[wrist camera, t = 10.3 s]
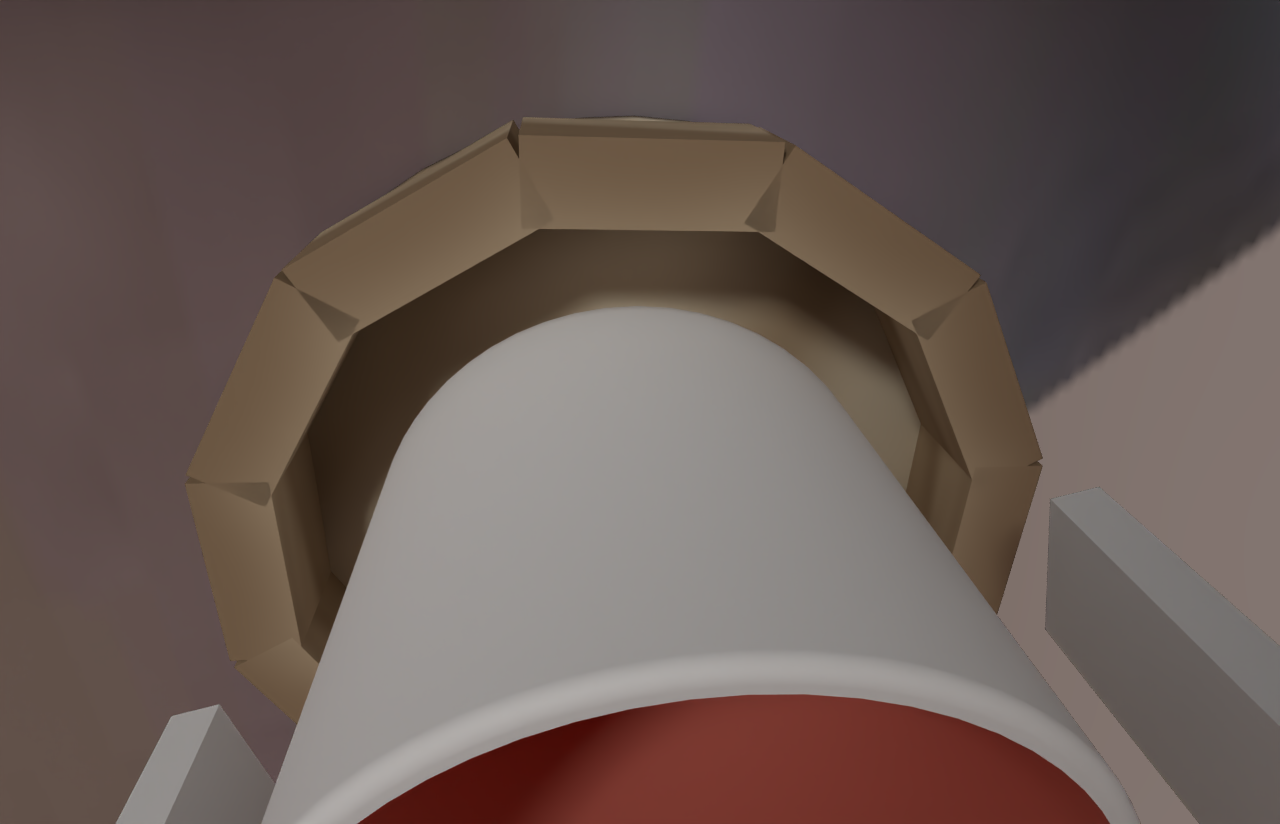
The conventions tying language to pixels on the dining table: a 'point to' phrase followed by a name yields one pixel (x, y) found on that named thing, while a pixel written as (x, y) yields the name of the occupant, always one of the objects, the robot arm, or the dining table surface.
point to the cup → (667, 613)
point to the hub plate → (577, 282)
